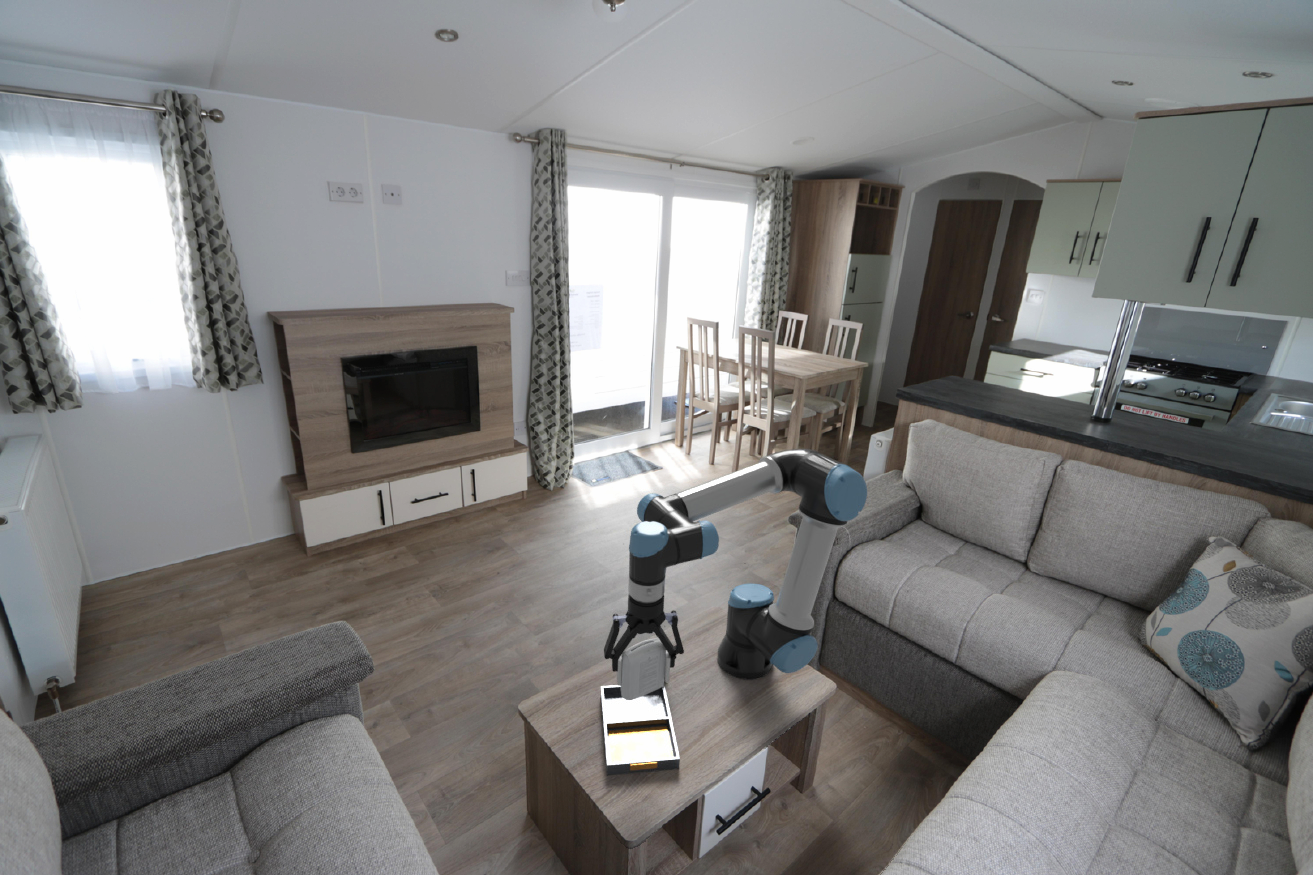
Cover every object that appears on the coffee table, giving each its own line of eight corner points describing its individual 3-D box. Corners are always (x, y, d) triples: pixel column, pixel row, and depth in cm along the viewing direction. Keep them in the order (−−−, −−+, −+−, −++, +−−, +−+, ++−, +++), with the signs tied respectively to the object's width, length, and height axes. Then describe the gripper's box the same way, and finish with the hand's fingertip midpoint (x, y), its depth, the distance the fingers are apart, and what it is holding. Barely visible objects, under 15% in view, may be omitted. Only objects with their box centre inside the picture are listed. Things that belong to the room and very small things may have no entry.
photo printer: (656, 674, 140) (658, 630, 135) (666, 686, 136) (669, 641, 132) (617, 691, 134) (618, 645, 130) (627, 704, 131) (628, 657, 127)
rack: (663, 690, 159) (663, 681, 158) (679, 769, 137) (680, 759, 136) (600, 695, 157) (600, 686, 156) (607, 776, 134) (607, 766, 133)
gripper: (592, 607, 121) (592, 695, 129) (703, 601, 125) (696, 688, 132) (591, 585, 128) (590, 670, 136) (695, 580, 132) (689, 664, 139)
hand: (642, 679), depth 134 cm, fingers closed on photo printer, 10 cm apart
